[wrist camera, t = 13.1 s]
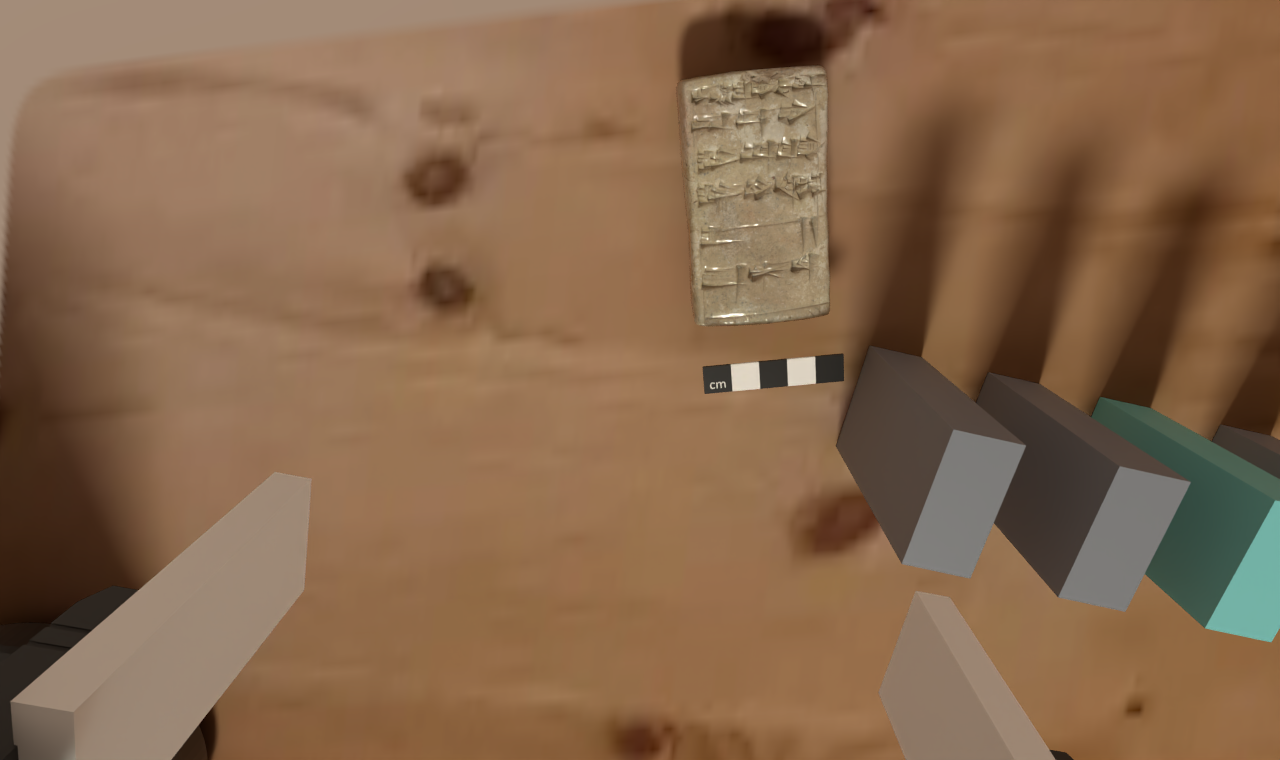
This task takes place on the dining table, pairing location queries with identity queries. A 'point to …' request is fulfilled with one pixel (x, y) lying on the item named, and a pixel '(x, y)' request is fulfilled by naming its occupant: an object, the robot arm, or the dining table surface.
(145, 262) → the dining table surface
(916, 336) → the dining table surface
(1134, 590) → the domino
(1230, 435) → the domino
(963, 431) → the domino
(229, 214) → the dining table surface
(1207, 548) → the domino
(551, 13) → the dining table surface
